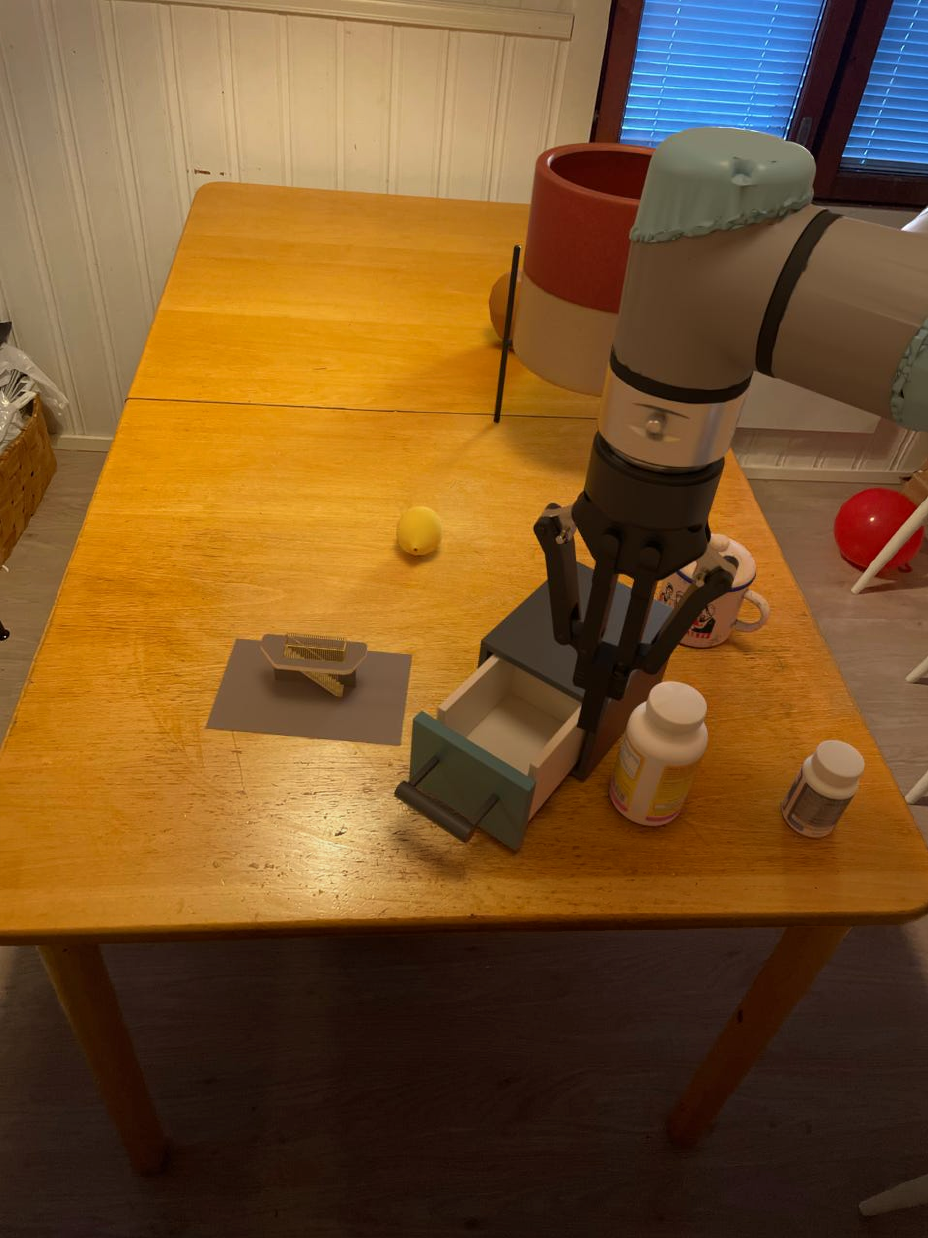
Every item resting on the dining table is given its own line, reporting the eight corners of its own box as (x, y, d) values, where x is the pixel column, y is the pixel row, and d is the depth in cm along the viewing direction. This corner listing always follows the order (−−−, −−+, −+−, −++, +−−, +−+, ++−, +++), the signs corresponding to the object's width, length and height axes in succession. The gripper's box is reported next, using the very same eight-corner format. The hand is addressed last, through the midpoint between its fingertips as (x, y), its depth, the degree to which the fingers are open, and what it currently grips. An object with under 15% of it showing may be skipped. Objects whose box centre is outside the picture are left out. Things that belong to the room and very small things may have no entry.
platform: (400, 745, 81) (402, 697, 77) (205, 727, 81) (196, 678, 77) (411, 654, 90) (414, 607, 86) (236, 638, 90) (230, 589, 85)
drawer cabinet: (583, 783, 80) (604, 708, 73) (471, 715, 85) (480, 639, 78) (659, 686, 90) (684, 613, 83) (555, 631, 95) (570, 557, 88)
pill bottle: (843, 835, 78) (881, 777, 72) (795, 842, 77) (830, 784, 71) (817, 791, 81) (851, 733, 76) (771, 797, 80) (802, 738, 75)
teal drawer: (481, 893, 70) (492, 834, 64) (371, 817, 74) (372, 755, 69) (601, 746, 82) (619, 685, 77) (500, 688, 87) (510, 626, 81)
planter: (527, 500, 112) (572, 209, 88) (485, 402, 130) (513, 138, 106) (697, 492, 117) (784, 213, 93) (634, 398, 135) (693, 144, 111)
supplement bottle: (691, 789, 80) (731, 694, 72) (665, 842, 76) (705, 747, 67) (624, 757, 83) (655, 660, 74) (595, 806, 78) (624, 709, 69)
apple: (472, 331, 148) (478, 262, 140) (539, 322, 152) (549, 255, 145) (507, 366, 139) (515, 295, 132) (577, 355, 144) (589, 286, 136)
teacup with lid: (635, 622, 97) (659, 537, 89) (676, 584, 102) (702, 501, 94) (733, 677, 92) (768, 593, 84) (770, 634, 97) (807, 551, 89)
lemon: (400, 528, 106) (402, 491, 102) (445, 534, 106) (448, 497, 102) (390, 565, 101) (391, 527, 97) (436, 571, 100) (439, 533, 97)
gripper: (530, 440, 49) (491, 722, 65) (765, 506, 45) (664, 786, 61) (572, 384, 54) (527, 658, 70) (786, 441, 51) (688, 714, 66)
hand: (591, 718), depth 66 cm, fingers closed
